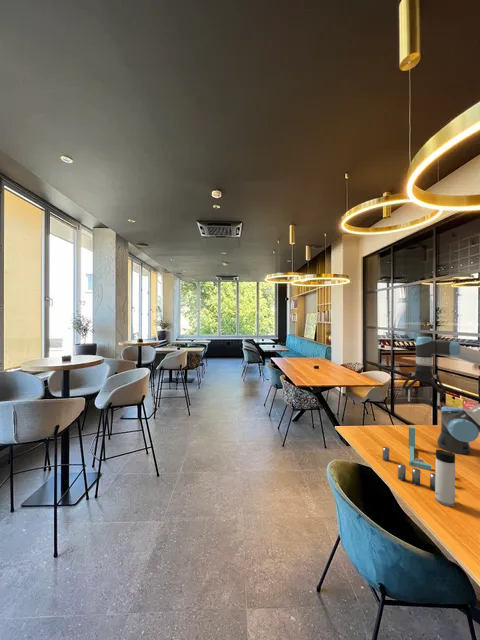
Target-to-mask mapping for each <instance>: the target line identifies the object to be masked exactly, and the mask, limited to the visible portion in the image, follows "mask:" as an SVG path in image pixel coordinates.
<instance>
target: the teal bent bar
mask: <svg viewBox="0 0 480 640" xmlns="http://www.w3.org/2000/svg"><path fill="white" fill-rule="evenodd" d="M415 449H416V426H413V425H408V450H409V454H408V455H409V456H408V457H409V460H408V466H410V467H411V466H412V467H414V468H417V469H424V470H426V471H432V464H431V463H430V464H429V463H426V462H425V463H422V462H418V461H415Z"/></svg>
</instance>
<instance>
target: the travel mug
mask: <svg viewBox="0 0 480 640" xmlns="http://www.w3.org/2000/svg"><path fill="white" fill-rule="evenodd" d="M434 492H435V493H434V497H435V501H436V502H438V503H439V504H441V505H442V506H445V507H454V506H455V505H456V453H453V452H449V451H446V450H444V449H436V450H435V491H434Z"/></svg>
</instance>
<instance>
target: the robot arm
mask: <svg viewBox="0 0 480 640" xmlns="http://www.w3.org/2000/svg"><path fill="white" fill-rule="evenodd" d="M433 355H436V356H437V355H439V356H440V355H441V356H449V357H451V358H456V359H457V360H461V361H463V362H468V363H471V364H474V365H477V366H480V350H477V349H474V348H470V347H467V346H463V345H460V342H458V341H453V340H451V341H450V340H448V341H447V340H445V339H436V340H434V339H433V337H431V336H417V337H416V342H415V371H414V372H412V371H409V373H408V377H406V380H405V381H404V383H403V384H402V387H401V388H403V389H405V395H406V396H408V397H407V401H408V402H411V387H413V386H414V385H415V384H416V383H417V382H418V381H419V382H425V383H428V382H429V383H430V384H431V385H432V386H433V388H435V390H437V407H438V406H439V407H440V406H441V405H440V404H441V403H440V400H443V394H446V393H447V390H446V388H445V387H444V384H443V383H442V381H441V379H440V376H439V374H433V366H432V365H433ZM413 376H415V378H414V379H413V380H412V381H411V382H409V381H410V380H411V378H412V377H413ZM432 378H434V379H436V381H437V382H438V383H437V384H439V386H440V388H441V389H440V388H439V386H438V385H437V384H436V383H435V381H433V380H432ZM408 383H409V384H408ZM407 384H408V385H407ZM440 415H441V417H440V421H441V422H440V424H441V425H440V434H439V435H438V438H437V441H436V444H437V446H438V447H439V448H440V449H441V450H444V451H446V452H451V453H453V454H458V455H459V454H460V455H469V454H471V452H472V449H471V444H470V443H471V442H474V441H475V440H477V438H478V437H479V435H480V434H479V433H480V403H478V404H477V405H475V406H473V407H472V408H471V409H465V408H461V407H456V406H448V405H447V406H445V405H444V406H442V407H441V411H440Z"/></svg>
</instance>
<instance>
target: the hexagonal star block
mask: <svg viewBox="0 0 480 640" xmlns="http://www.w3.org/2000/svg"><path fill="white" fill-rule="evenodd" d="M414 461H418V462H422V463H426V462H425V460H424V459H422V458H419V457H417V458H416V457H414Z"/></svg>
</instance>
